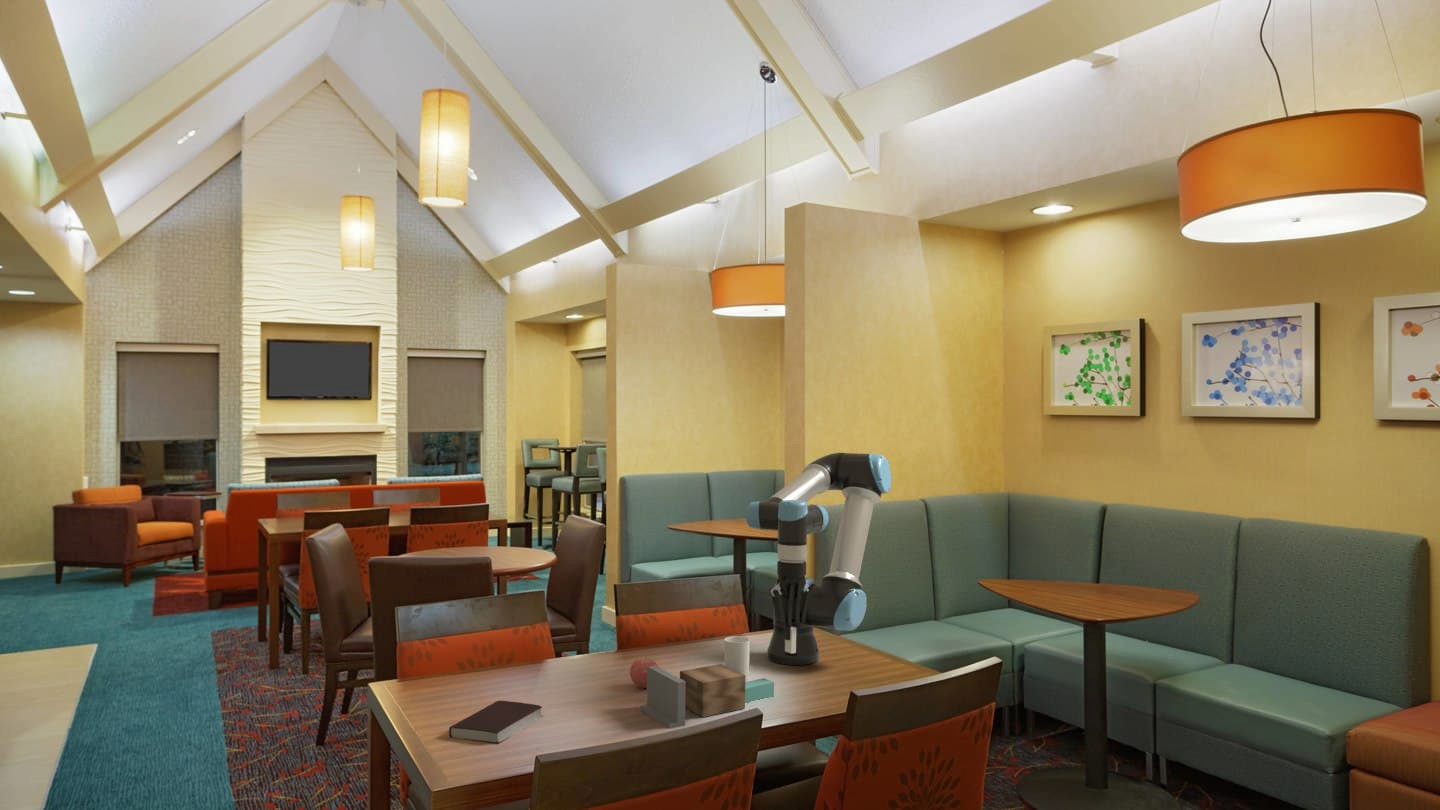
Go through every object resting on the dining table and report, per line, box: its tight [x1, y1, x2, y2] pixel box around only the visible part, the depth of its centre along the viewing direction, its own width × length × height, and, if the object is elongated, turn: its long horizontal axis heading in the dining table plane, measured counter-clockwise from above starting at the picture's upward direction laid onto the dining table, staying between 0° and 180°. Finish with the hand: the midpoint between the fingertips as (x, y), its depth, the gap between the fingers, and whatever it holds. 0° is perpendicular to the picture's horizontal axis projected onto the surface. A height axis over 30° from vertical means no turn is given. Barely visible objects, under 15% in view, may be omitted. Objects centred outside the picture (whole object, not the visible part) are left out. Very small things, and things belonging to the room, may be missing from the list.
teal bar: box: [745, 677, 775, 704], centre depth 225 cm, size 14×4×4 cm, turn 128°
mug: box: [723, 635, 751, 682], centre depth 238 cm, size 10×7×12 cm, turn 24°
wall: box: [639, 665, 686, 729], centre depth 212 cm, size 4×15×10 cm, turn 33°
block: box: [679, 663, 746, 718], centre depth 219 cm, size 12×11×8 cm
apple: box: [629, 657, 659, 689], centre depth 234 cm, size 7×7×8 cm
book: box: [448, 700, 543, 745], centre depth 205 cm, size 12×19×3 cm, turn 161°
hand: (790, 651), depth 232 cm, fingers closed
